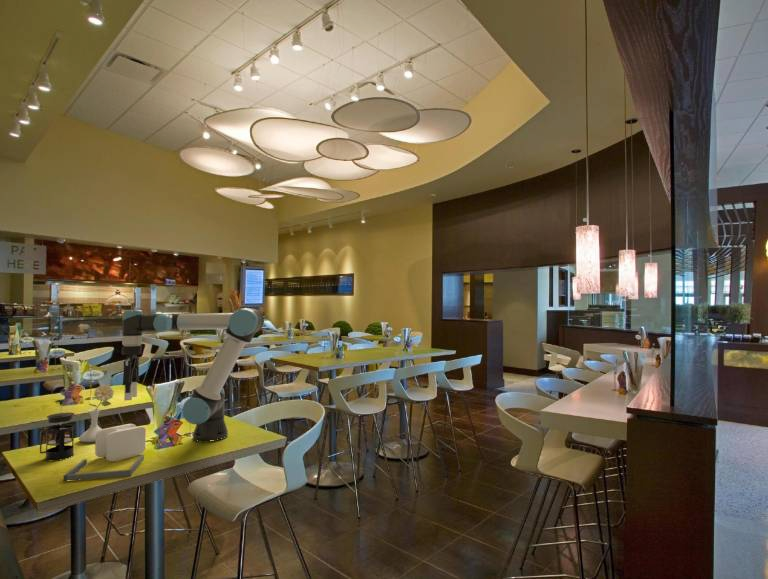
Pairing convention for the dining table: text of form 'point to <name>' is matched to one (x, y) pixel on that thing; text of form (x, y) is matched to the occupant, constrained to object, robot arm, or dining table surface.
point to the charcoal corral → (106, 474)
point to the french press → (59, 436)
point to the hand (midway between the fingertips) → (130, 398)
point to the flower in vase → (97, 412)
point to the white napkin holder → (120, 442)
